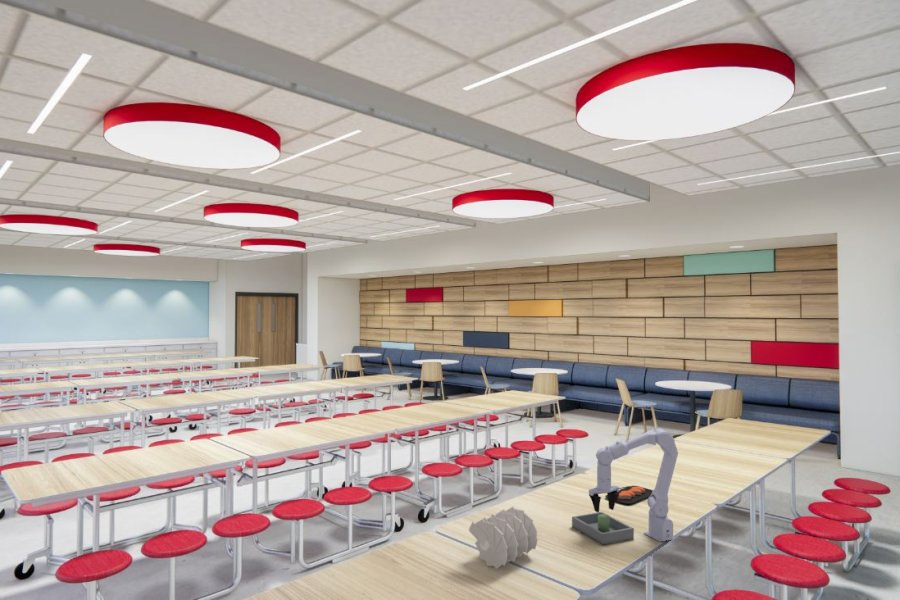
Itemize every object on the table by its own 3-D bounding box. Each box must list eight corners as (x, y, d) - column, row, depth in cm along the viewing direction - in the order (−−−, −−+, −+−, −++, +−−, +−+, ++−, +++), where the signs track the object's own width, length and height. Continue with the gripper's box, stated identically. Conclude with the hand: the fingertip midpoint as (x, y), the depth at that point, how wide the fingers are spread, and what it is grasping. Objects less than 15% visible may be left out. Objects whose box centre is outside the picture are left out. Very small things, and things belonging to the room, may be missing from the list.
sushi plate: (628, 508, 258) (628, 500, 258) (576, 492, 280) (576, 484, 280) (658, 495, 277) (658, 487, 277) (607, 481, 299) (607, 474, 300)
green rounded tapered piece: (612, 531, 225) (611, 517, 225) (602, 533, 224) (602, 519, 224) (604, 527, 230) (604, 513, 230) (595, 529, 228) (595, 515, 228)
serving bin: (633, 539, 220) (633, 528, 220) (602, 545, 214) (602, 534, 214) (601, 521, 238) (601, 511, 239) (572, 527, 232) (572, 516, 232)
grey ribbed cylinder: (532, 563, 206) (492, 583, 188) (500, 531, 218) (459, 547, 200) (551, 525, 202) (512, 541, 184) (517, 494, 213) (477, 507, 195)
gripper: (611, 473, 234) (611, 504, 233) (584, 477, 228) (584, 509, 228) (622, 478, 227) (622, 510, 227) (594, 481, 221) (594, 515, 221)
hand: (604, 510), depth 227 cm, fingers open, 7 cm apart
